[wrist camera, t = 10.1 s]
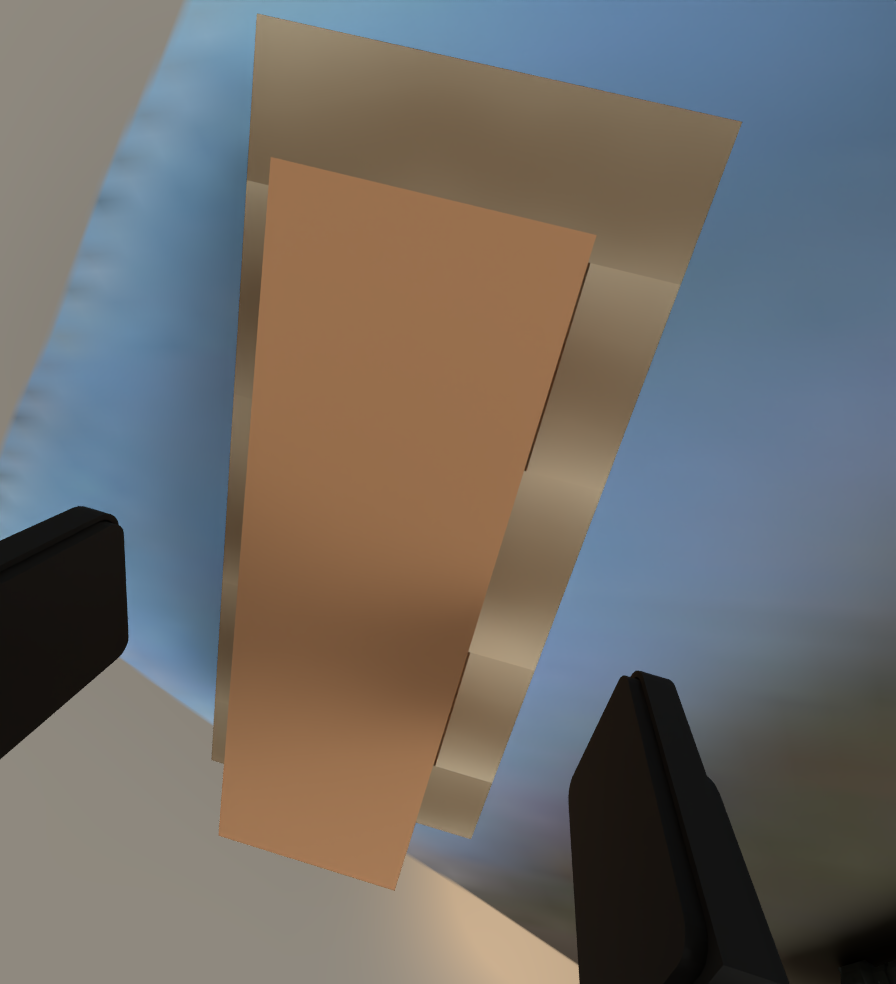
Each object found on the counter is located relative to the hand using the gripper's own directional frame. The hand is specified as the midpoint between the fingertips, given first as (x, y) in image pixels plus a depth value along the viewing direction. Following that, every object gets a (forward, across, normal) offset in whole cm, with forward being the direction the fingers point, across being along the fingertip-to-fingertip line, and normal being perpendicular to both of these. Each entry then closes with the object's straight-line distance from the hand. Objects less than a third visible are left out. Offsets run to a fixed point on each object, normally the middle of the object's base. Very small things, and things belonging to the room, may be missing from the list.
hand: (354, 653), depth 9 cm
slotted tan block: (+9, +1, +1) cm, 9 cm away
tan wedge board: (+9, +1, +1) cm, 9 cm away
